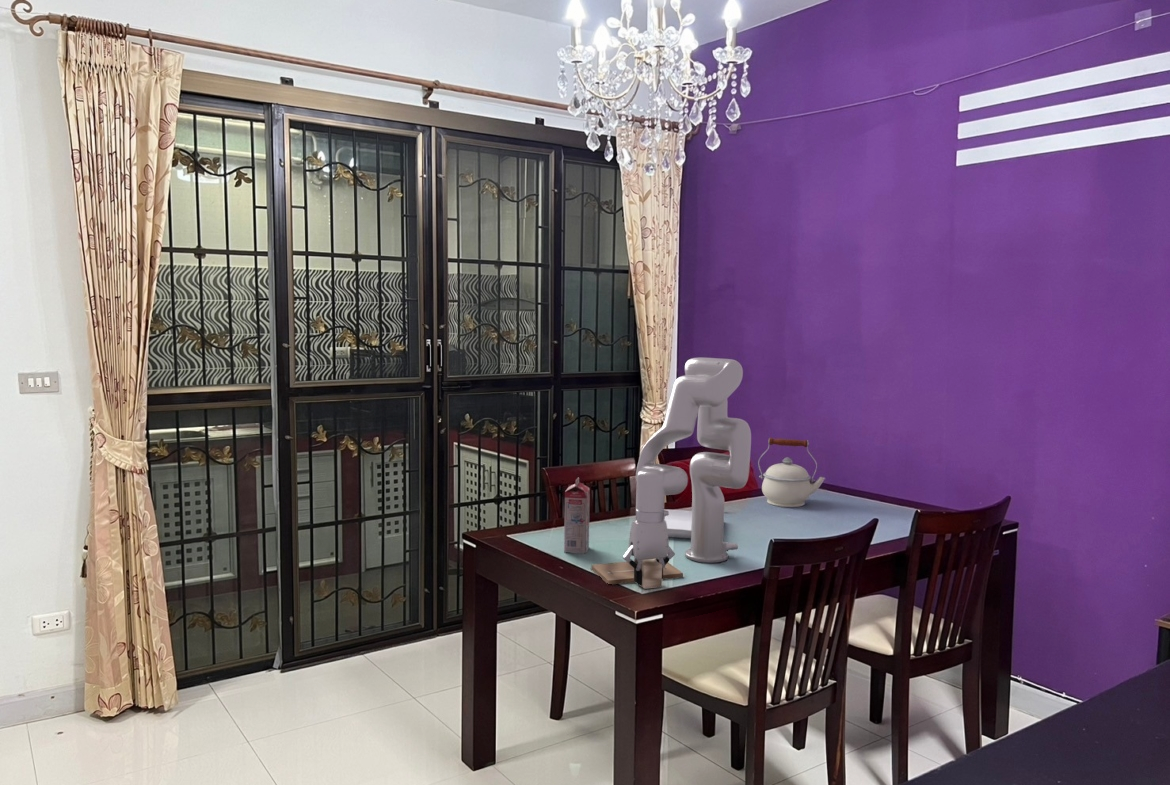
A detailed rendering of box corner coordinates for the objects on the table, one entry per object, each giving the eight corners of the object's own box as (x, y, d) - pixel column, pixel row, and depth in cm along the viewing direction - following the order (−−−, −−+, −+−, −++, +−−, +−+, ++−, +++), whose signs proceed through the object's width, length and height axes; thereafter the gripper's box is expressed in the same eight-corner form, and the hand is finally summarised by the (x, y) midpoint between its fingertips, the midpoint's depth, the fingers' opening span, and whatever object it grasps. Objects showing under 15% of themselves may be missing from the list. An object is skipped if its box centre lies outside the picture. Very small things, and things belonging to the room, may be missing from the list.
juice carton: (564, 552, 252) (565, 480, 250) (567, 546, 259) (568, 476, 256) (585, 553, 251) (586, 481, 249) (588, 547, 258) (589, 477, 256)
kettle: (754, 506, 315) (757, 440, 312) (759, 495, 332) (761, 433, 330) (823, 511, 308) (826, 445, 305) (824, 500, 325) (827, 437, 322)
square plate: (719, 544, 265) (719, 532, 264) (633, 538, 270) (634, 526, 270) (722, 522, 291) (722, 511, 291) (644, 517, 297) (645, 507, 296)
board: (662, 562, 244) (662, 558, 244) (682, 577, 231) (683, 572, 230) (591, 569, 237) (591, 564, 236) (608, 584, 223) (608, 580, 223)
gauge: (643, 573, 233) (644, 552, 232) (661, 586, 221) (662, 565, 221) (627, 574, 231) (627, 553, 230) (644, 588, 220) (644, 566, 219)
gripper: (673, 510, 228) (671, 575, 230) (614, 515, 222) (613, 581, 224) (685, 517, 221) (683, 584, 223) (625, 522, 215) (624, 590, 217)
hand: (648, 581), depth 223 cm, fingers closed on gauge, 5 cm apart
